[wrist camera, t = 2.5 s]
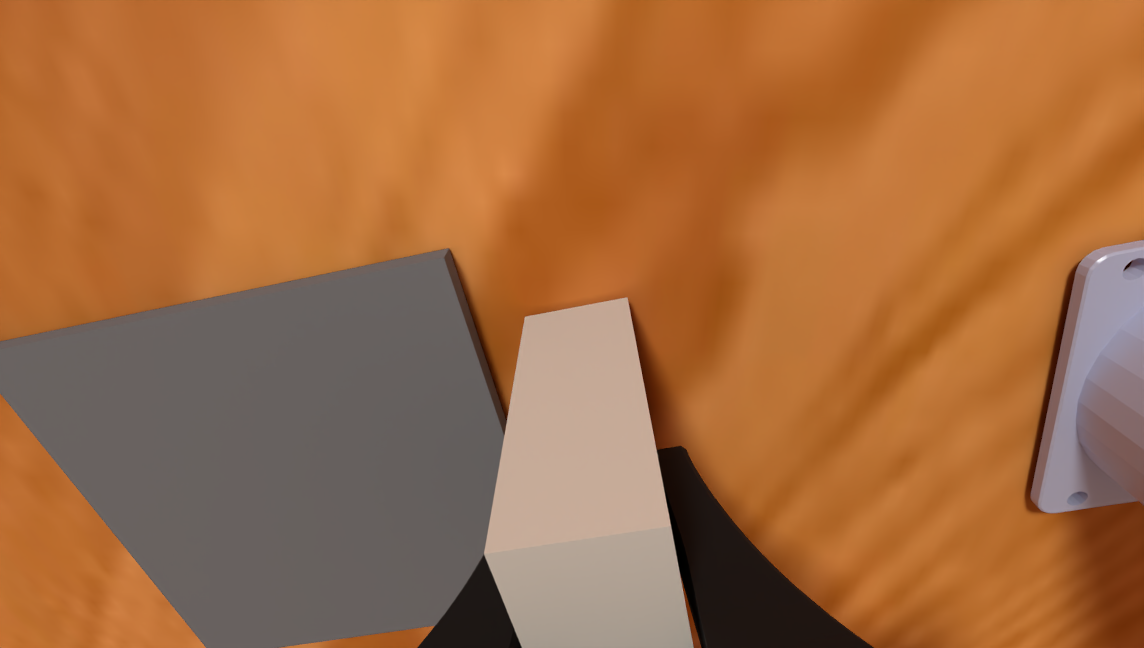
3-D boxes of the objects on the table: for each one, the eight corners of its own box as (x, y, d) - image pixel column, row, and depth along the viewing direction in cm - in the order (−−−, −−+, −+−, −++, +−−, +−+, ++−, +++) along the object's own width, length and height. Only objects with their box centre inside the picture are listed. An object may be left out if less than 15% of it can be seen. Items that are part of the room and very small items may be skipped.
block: (627, 297, 14) (671, 525, 7) (671, 534, 17) (726, 822, 11) (525, 316, 14) (484, 553, 8) (590, 547, 17) (598, 834, 11)
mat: (448, 248, 13) (443, 257, 13) (562, 591, 19) (562, 607, 18) (-8, 343, 14) (-30, 355, 14) (223, 639, 20) (213, 656, 19)
